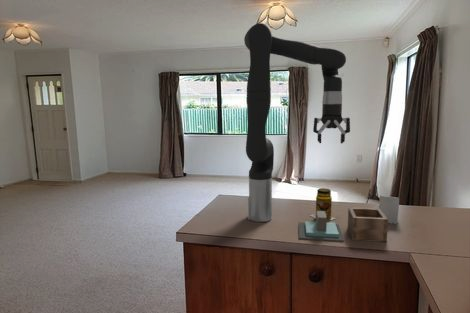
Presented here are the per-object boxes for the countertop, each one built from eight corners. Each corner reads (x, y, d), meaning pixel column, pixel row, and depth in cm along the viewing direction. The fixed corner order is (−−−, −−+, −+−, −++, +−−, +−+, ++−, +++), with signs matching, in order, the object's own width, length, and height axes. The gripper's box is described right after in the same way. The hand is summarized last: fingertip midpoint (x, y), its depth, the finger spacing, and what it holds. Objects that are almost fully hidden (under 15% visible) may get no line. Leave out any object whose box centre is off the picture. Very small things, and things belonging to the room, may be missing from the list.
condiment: (321, 222, 129) (322, 192, 127) (308, 215, 137) (309, 187, 135) (336, 219, 132) (337, 190, 130) (323, 213, 139) (323, 185, 137)
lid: (306, 235, 115) (306, 218, 114) (305, 224, 125) (305, 208, 124) (338, 237, 113) (339, 220, 112) (334, 225, 123) (335, 209, 122)
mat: (298, 239, 113) (298, 237, 113) (298, 223, 128) (298, 222, 128) (344, 241, 110) (344, 240, 110) (338, 225, 125) (338, 224, 125)
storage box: (352, 240, 112) (353, 217, 110) (347, 227, 122) (348, 207, 121) (386, 242, 110) (388, 219, 108) (378, 229, 120) (380, 208, 119)
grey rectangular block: (397, 224, 125) (398, 199, 123) (378, 221, 129) (379, 196, 127) (397, 221, 128) (399, 196, 127) (379, 218, 132) (380, 194, 130)
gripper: (314, 103, 128) (313, 144, 131) (352, 102, 126) (350, 144, 128) (313, 103, 136) (312, 142, 138) (349, 102, 133) (347, 142, 136)
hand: (330, 143), depth 133 cm, fingers open, 8 cm apart
